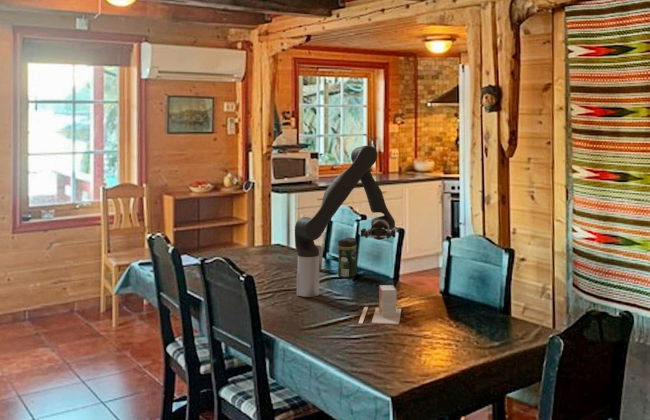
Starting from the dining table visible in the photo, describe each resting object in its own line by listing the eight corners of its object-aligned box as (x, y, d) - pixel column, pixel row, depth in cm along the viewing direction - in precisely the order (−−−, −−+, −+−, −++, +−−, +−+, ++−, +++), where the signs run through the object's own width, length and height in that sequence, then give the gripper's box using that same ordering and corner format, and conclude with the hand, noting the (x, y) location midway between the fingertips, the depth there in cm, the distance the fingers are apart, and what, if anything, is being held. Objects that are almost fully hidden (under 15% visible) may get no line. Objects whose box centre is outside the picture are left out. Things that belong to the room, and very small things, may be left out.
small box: (378, 311, 264) (379, 285, 263) (393, 311, 265) (393, 284, 263) (381, 317, 256) (381, 290, 255) (396, 317, 257) (396, 289, 255)
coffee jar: (344, 273, 334) (344, 235, 331) (359, 274, 330) (359, 237, 328) (335, 277, 325) (335, 238, 323) (350, 278, 322) (350, 240, 319)
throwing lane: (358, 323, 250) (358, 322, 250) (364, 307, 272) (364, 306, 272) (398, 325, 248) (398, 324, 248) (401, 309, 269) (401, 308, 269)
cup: (307, 270, 341) (307, 246, 339) (313, 267, 347) (313, 244, 345) (319, 271, 338) (319, 247, 336) (326, 269, 343) (325, 245, 342)
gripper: (363, 220, 291) (359, 226, 275) (397, 221, 289) (394, 226, 273) (363, 237, 292) (359, 244, 276) (396, 238, 290) (394, 245, 274)
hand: (377, 235), depth 274 cm, fingers open, 8 cm apart
